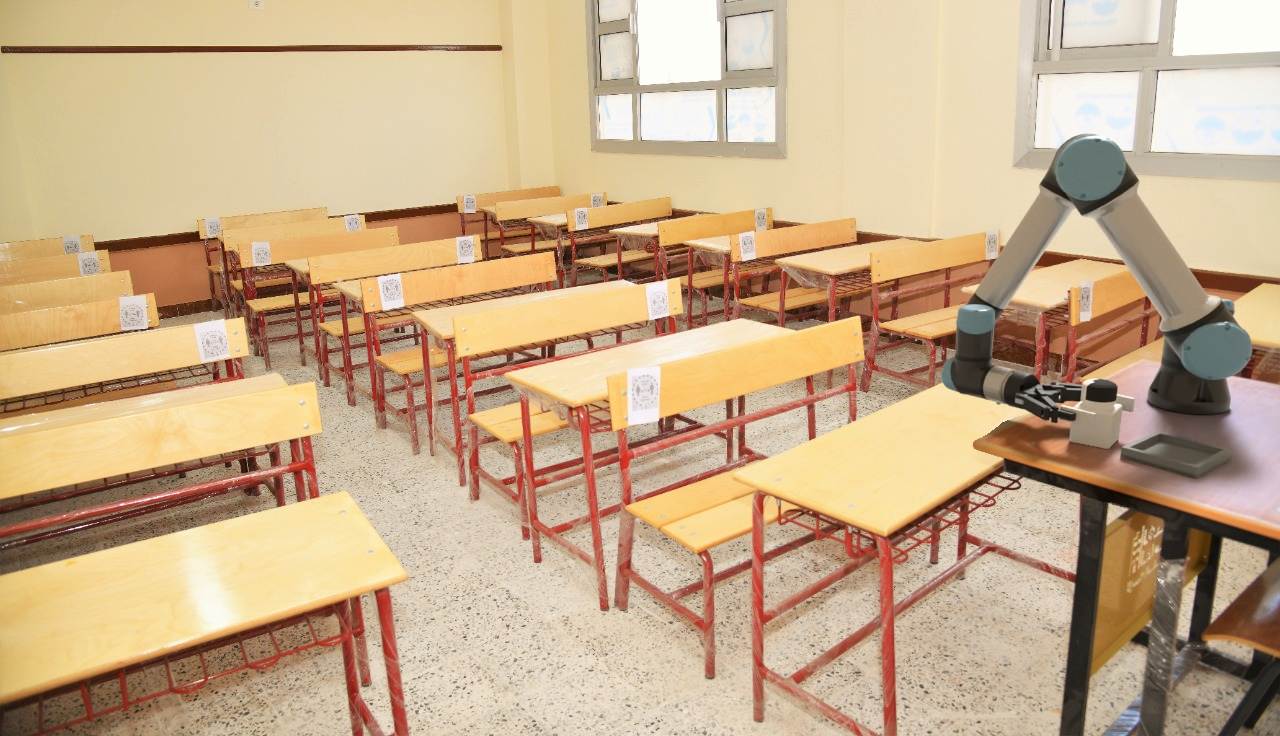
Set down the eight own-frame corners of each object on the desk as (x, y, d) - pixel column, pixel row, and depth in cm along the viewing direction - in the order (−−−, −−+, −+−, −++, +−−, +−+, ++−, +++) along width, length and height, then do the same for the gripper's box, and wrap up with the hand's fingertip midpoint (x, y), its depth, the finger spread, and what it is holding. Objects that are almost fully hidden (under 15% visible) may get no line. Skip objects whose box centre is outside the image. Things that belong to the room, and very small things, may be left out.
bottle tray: (1156, 440, 170) (1157, 430, 169) (1230, 460, 160) (1232, 449, 159) (1120, 457, 163) (1121, 446, 162) (1195, 478, 153) (1197, 467, 152)
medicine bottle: (1119, 439, 172) (1126, 379, 168) (1108, 450, 167) (1115, 389, 163) (1079, 431, 176) (1085, 374, 173) (1068, 442, 171) (1074, 382, 168)
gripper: (1045, 392, 192) (1145, 417, 175) (974, 418, 178) (1075, 447, 161) (1048, 359, 190) (1150, 380, 173) (976, 382, 176) (1079, 408, 159)
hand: (1114, 412), depth 167 cm, fingers open, 13 cm apart
